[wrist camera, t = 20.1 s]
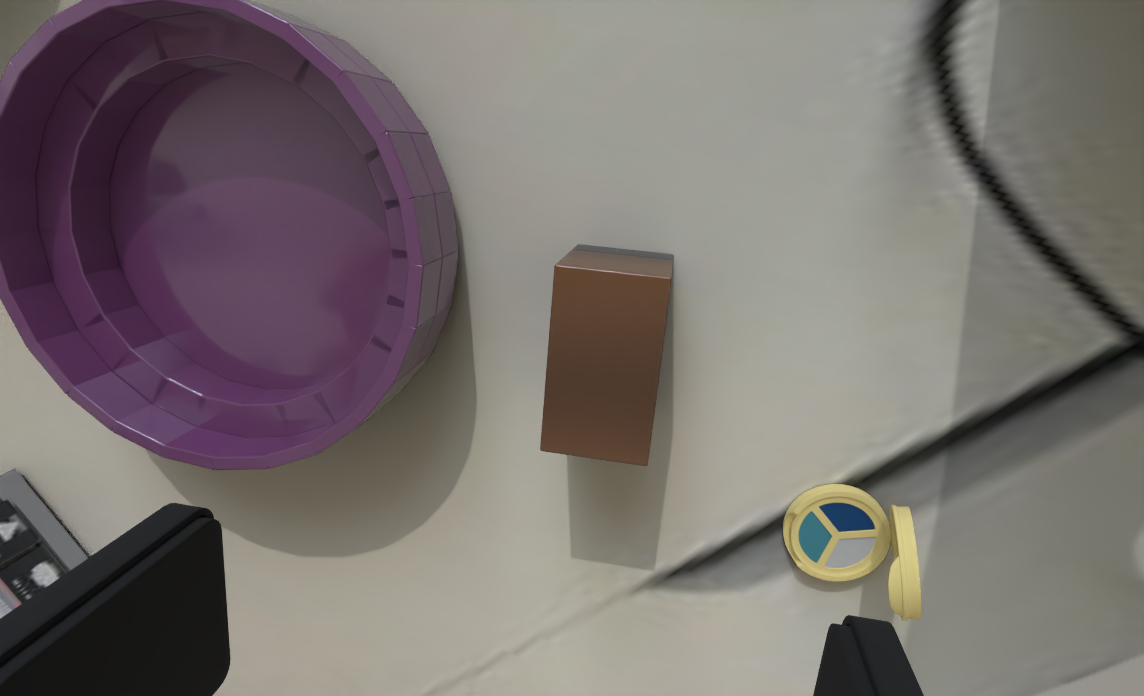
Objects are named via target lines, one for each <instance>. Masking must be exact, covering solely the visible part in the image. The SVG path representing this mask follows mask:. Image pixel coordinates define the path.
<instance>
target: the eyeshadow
mask: <svg viewBox="0 0 1144 696" xmlns="http://www.w3.org/2000/svg"><path fill="white" fill-rule="evenodd" d="M890 521H891V526H890V524H889V521H888V519H887V517H886V515H885V513H884V512H883V510H882V508H881V506H880V505H879V504H878V502H877V501H876V500H875V499H874V498H873V497H872V496H870V495H869V494H867V493H866V492H864V491H862V490H860V489H858V488H856V487H852V486H849V485H843V484H828V485H822V486H818V487H815V488H813V489H810V490H808V491H806V492H805V493H803V494H802V495H800V496H799V497H798V498H797V499H795V500H794V501H793V502H792V504H791V505H790V506H789V508H788V510H787V512H786V515H785V518H784V522H783V537H784V541H785V544H786V547H787V549H788V551H789V553H790V555H791V556H792V558H793V560H794V561H795V563H796V564H797V566H798V567H799V568H800V569H801V570H802V571H804V572H806V573H807V574H809V575H811V576H813V577H816V578H818V579H822V580H826V581H835V582H840V581H849V580H853V579H857V578H860V577H862V576H864V575H866V574H868V573H870V572H871V571H873V570H874V569H875V568H876V567H877V566H878V565H879V564H880V563H881V562H882V561H883V560H884V558H885V557H886V555H887V553H888V550H889V548H890V544H891V538H892V551H893V561H894V562H893V564H892V565H891V567H890V571H889V577H888V592H889V601H890V605H891V608H892V610H893V611H894V612H895V613H896V614H898V615H900V616H901V618H902V620H904V621H906V620H907V619H920V618H921V589H920V576H919V565H918V556H917V548H916V540H915V534H914V527H913V522H912V517H911V513H910V509H909V507H897V506H895V505H891V507H890Z"/></svg>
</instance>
